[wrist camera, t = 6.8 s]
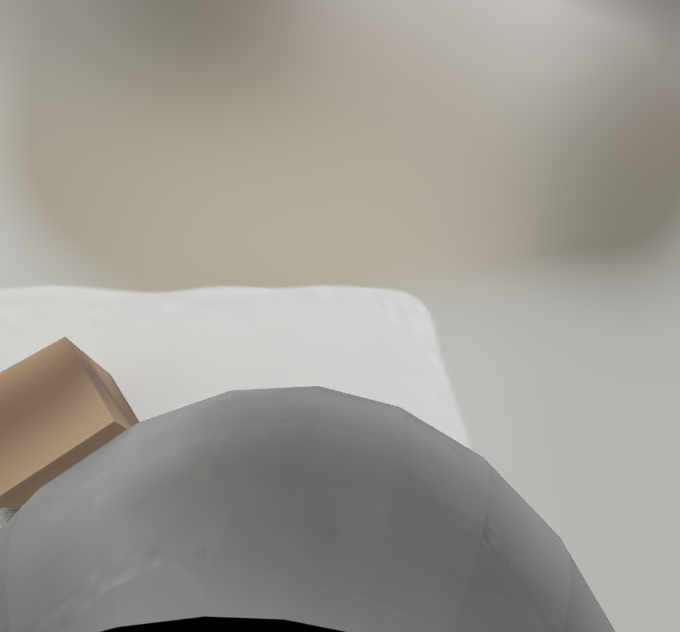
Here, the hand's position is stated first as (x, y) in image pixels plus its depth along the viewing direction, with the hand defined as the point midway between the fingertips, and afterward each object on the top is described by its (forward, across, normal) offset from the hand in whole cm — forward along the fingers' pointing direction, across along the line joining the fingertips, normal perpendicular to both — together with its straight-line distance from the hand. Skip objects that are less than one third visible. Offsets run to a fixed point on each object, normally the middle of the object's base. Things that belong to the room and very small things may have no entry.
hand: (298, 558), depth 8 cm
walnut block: (+13, +12, +6) cm, 18 cm away
